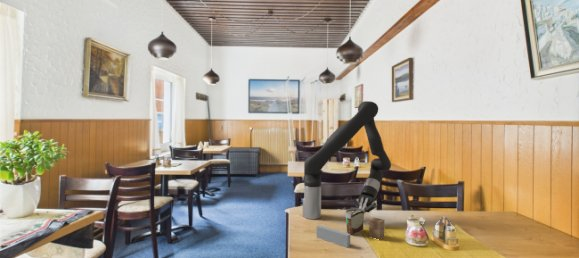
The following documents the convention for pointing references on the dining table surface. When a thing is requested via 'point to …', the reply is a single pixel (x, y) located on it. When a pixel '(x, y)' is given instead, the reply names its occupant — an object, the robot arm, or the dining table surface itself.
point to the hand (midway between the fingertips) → (359, 217)
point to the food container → (354, 220)
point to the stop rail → (333, 236)
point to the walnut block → (376, 228)
